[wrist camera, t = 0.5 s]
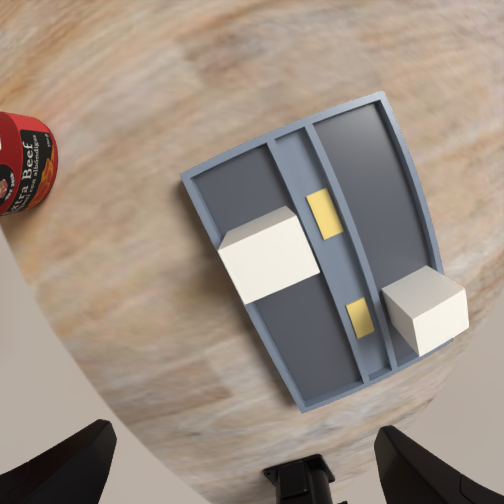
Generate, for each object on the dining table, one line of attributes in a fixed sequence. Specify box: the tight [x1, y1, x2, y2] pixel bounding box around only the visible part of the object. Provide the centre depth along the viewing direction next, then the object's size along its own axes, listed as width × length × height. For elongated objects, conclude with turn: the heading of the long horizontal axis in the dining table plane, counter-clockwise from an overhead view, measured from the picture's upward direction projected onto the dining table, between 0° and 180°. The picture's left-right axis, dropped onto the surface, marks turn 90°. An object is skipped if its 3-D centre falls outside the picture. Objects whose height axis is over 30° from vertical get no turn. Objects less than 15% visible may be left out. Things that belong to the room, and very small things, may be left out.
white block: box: [218, 206, 320, 305], centre depth 17 cm, size 3×4×5 cm
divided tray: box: [179, 91, 453, 413], centre depth 20 cm, size 20×14×2 cm
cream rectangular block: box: [381, 265, 469, 357], centre depth 18 cm, size 3×4×5 cm
